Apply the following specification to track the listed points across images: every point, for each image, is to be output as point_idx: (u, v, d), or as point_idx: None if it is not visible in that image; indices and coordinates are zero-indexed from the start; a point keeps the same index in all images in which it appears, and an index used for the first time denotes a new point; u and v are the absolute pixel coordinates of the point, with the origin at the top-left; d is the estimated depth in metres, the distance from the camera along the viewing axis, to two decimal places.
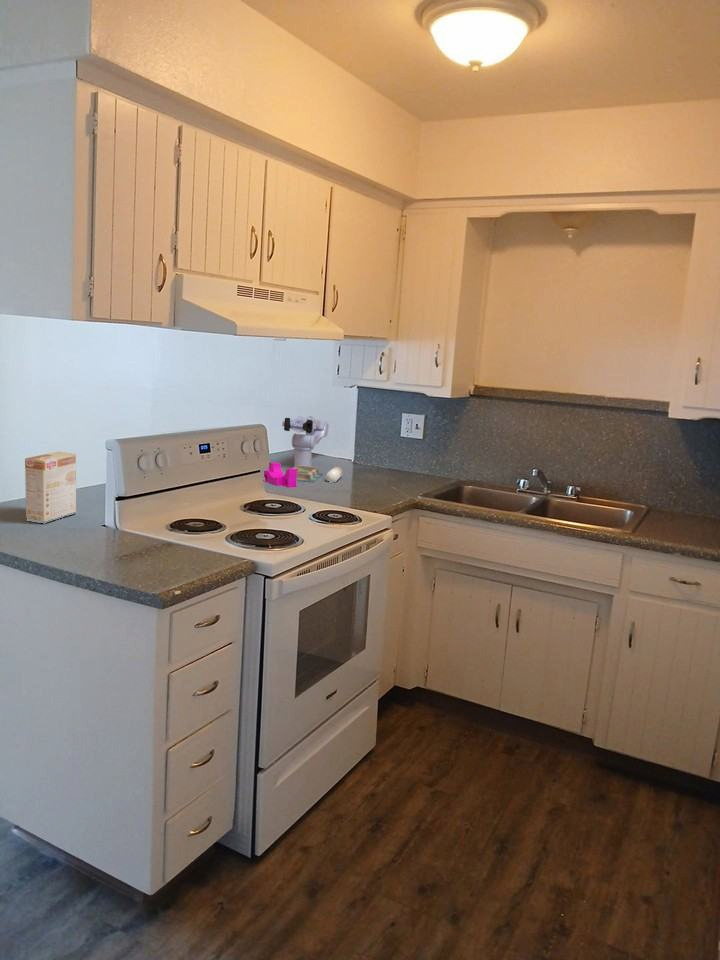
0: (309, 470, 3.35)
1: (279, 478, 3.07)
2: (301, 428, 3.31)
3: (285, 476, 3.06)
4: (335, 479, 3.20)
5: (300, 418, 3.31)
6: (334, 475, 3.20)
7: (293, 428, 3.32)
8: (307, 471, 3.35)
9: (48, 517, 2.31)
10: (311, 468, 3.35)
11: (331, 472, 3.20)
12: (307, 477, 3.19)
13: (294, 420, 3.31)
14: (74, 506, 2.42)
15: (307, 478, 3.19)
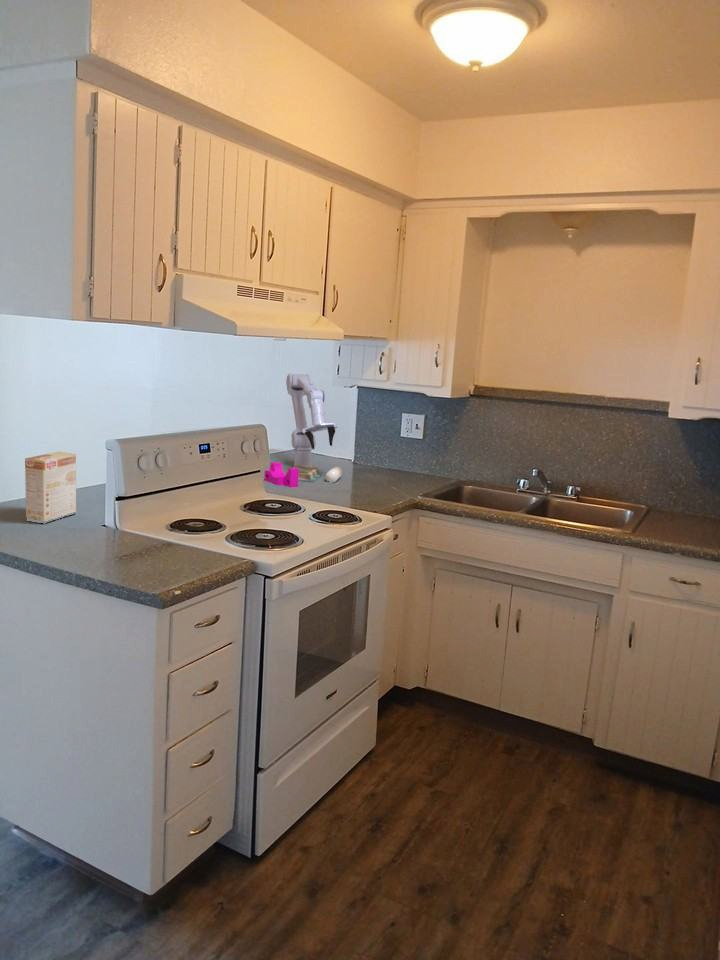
0: (309, 470, 3.35)
1: (281, 478, 3.08)
2: (322, 428, 3.25)
3: (287, 476, 3.07)
4: (335, 479, 3.20)
5: (318, 425, 3.21)
6: (334, 474, 3.20)
7: None
8: (307, 471, 3.35)
9: (48, 517, 2.31)
10: (311, 468, 3.35)
11: (330, 472, 3.20)
12: (307, 477, 3.19)
13: (313, 427, 3.22)
14: (74, 506, 2.42)
15: (307, 478, 3.19)
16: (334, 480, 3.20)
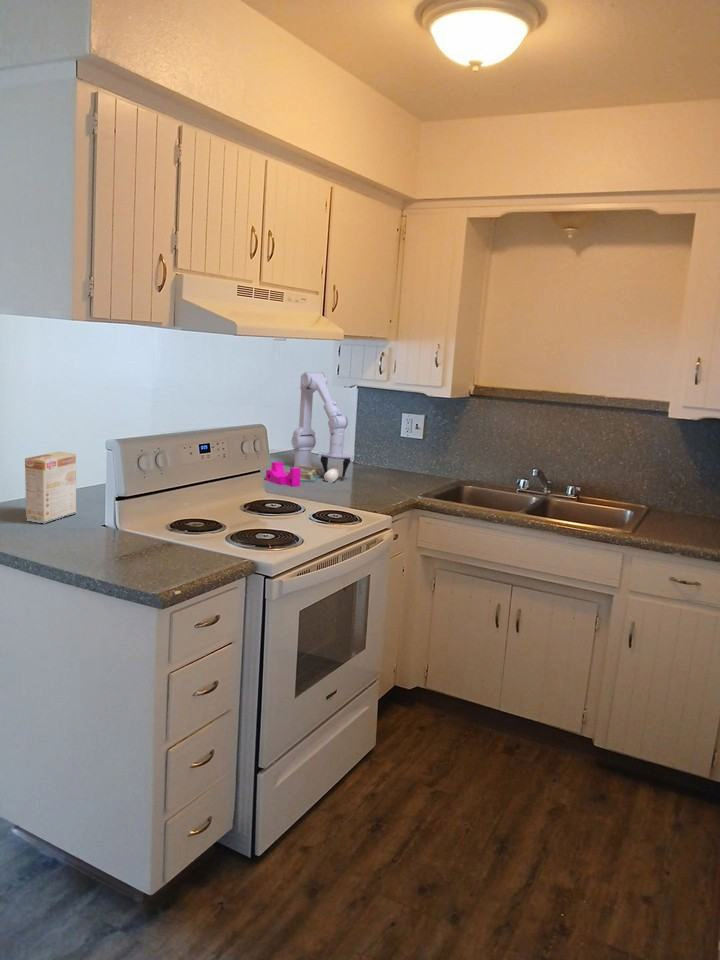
0: (309, 470, 3.35)
1: (283, 477, 3.09)
2: None
3: (289, 475, 3.08)
4: (334, 478, 3.20)
5: (335, 457, 3.22)
6: (332, 474, 3.20)
7: None
8: (307, 471, 3.35)
9: (48, 517, 2.31)
10: (311, 468, 3.35)
11: (328, 472, 3.20)
12: (307, 477, 3.19)
13: (329, 456, 3.23)
14: (74, 506, 2.42)
15: (307, 478, 3.19)
16: (333, 479, 3.20)
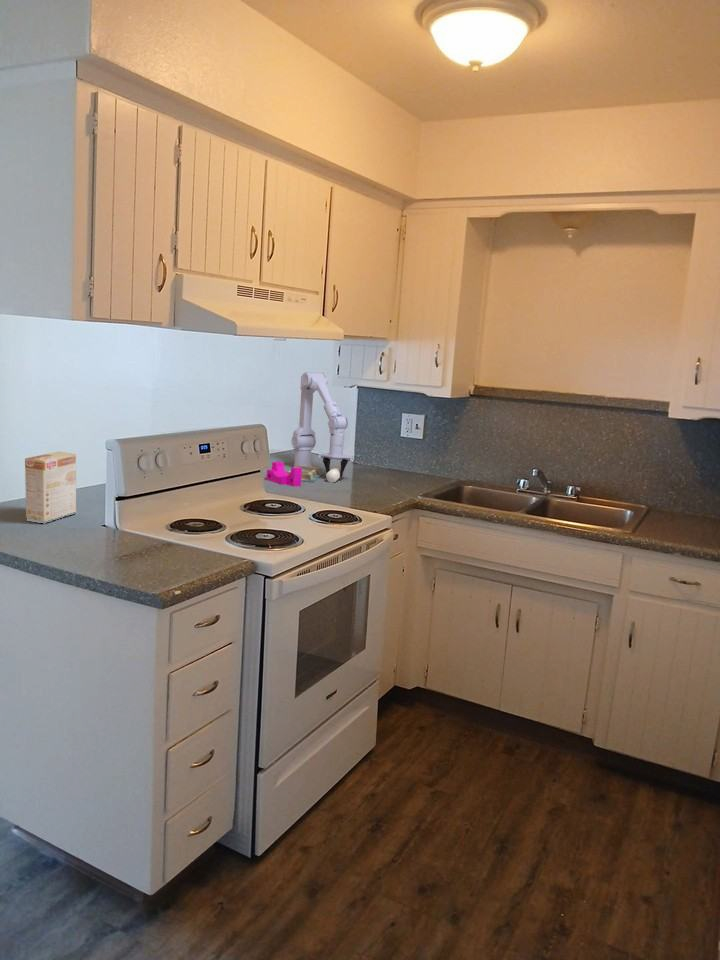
0: (309, 470, 3.35)
1: (284, 477, 3.09)
2: None
3: (290, 475, 3.08)
4: (335, 479, 3.20)
5: (335, 457, 3.22)
6: (334, 474, 3.20)
7: None
8: (307, 471, 3.35)
9: (48, 517, 2.31)
10: (311, 468, 3.35)
11: (331, 472, 3.20)
12: (307, 477, 3.19)
13: (329, 456, 3.23)
14: (74, 506, 2.42)
15: (307, 478, 3.19)
16: (334, 480, 3.20)
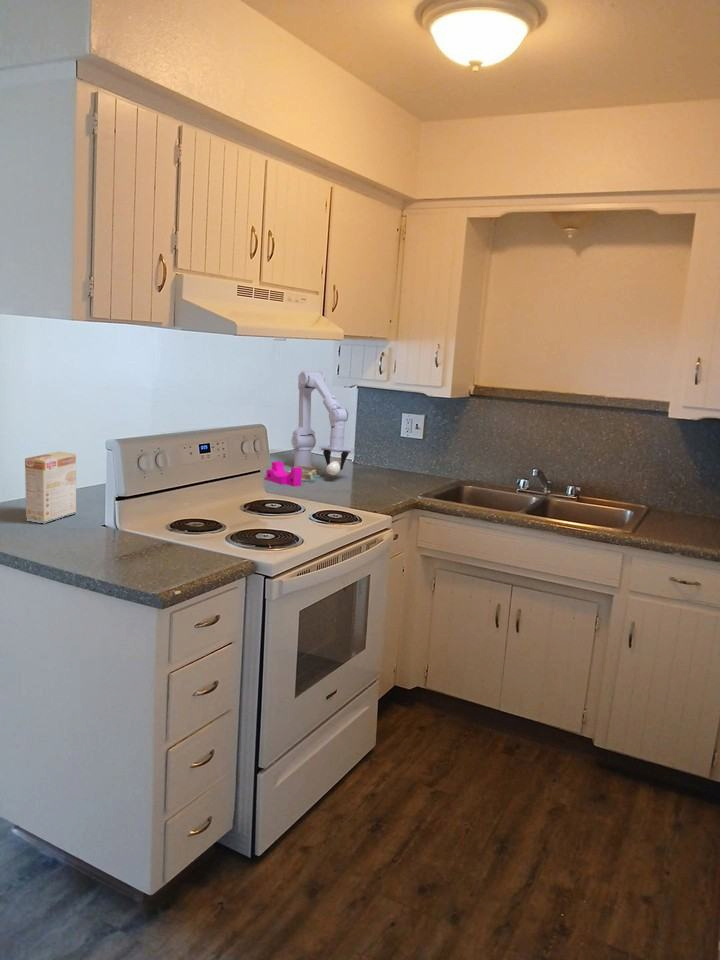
0: (309, 470, 3.35)
1: (284, 477, 3.10)
2: None
3: (290, 475, 3.09)
4: (335, 471, 3.20)
5: (335, 450, 3.21)
6: (335, 467, 3.19)
7: None
8: (307, 471, 3.35)
9: (48, 517, 2.31)
10: (311, 468, 3.35)
11: (331, 464, 3.19)
12: (307, 477, 3.19)
13: (330, 449, 3.22)
14: (74, 506, 2.42)
15: (307, 478, 3.19)
16: (335, 472, 3.20)
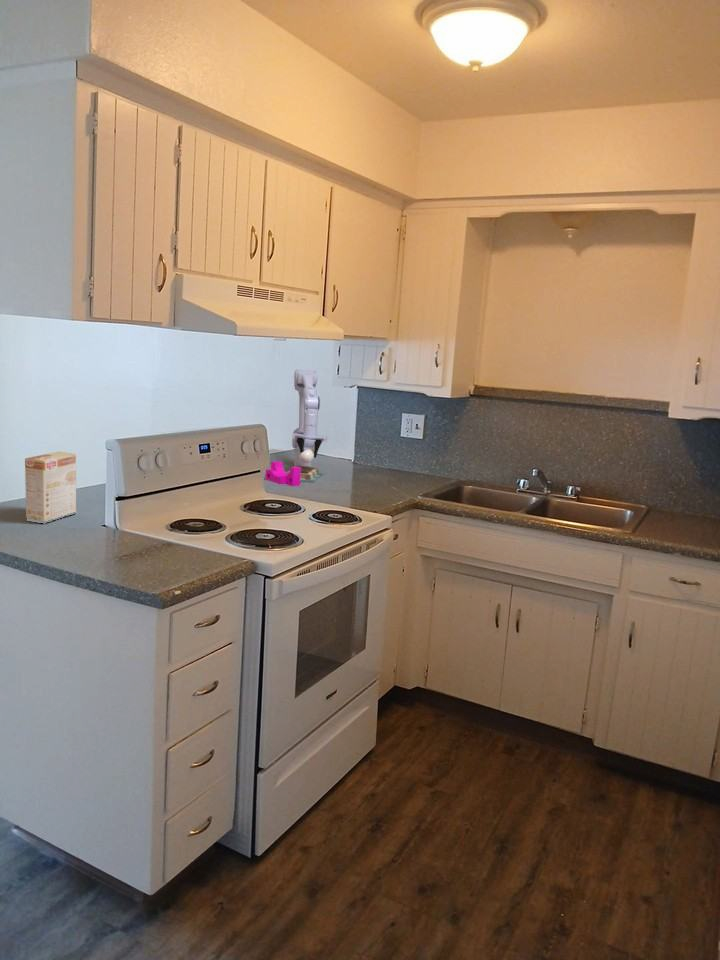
0: (309, 470, 3.35)
1: (283, 477, 3.10)
2: None
3: (289, 475, 3.09)
4: (309, 459, 3.20)
5: (309, 437, 3.22)
6: (308, 455, 3.20)
7: None
8: (307, 471, 3.35)
9: (48, 517, 2.31)
10: (311, 468, 3.35)
11: (304, 452, 3.20)
12: (307, 477, 3.19)
13: (303, 437, 3.23)
14: (74, 506, 2.42)
15: (307, 478, 3.19)
16: (308, 460, 3.21)
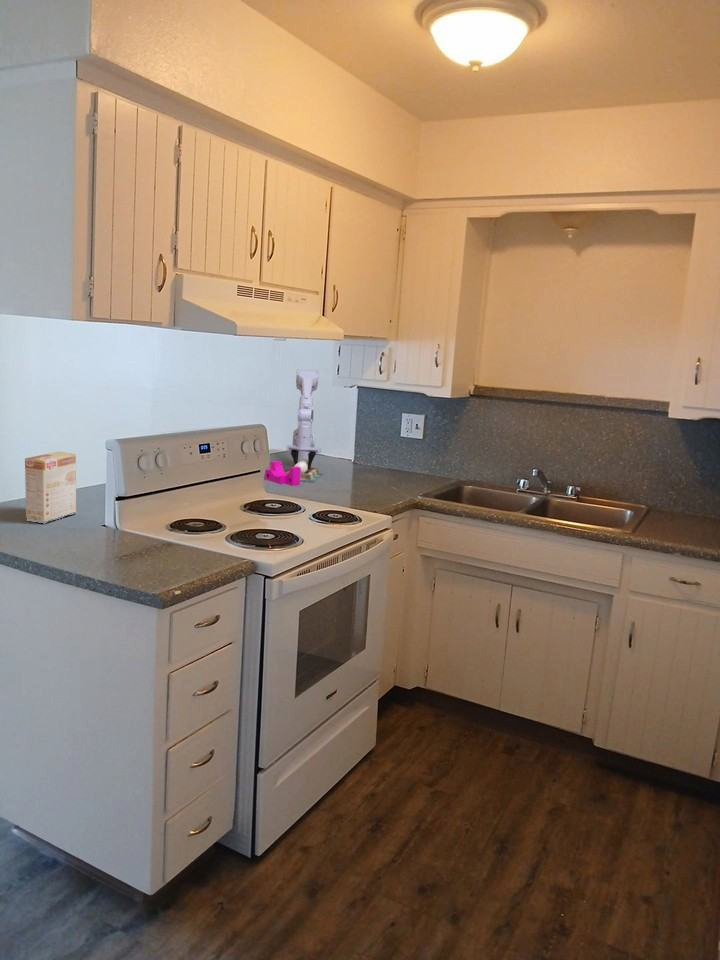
0: (309, 470, 3.35)
1: (283, 477, 3.10)
2: None
3: (289, 475, 3.09)
4: (303, 471, 3.22)
5: (302, 449, 3.23)
6: (301, 467, 3.21)
7: None
8: (307, 471, 3.35)
9: (48, 517, 2.31)
10: (311, 468, 3.35)
11: (298, 464, 3.21)
12: (307, 477, 3.19)
13: (297, 448, 3.25)
14: (74, 506, 2.42)
15: (307, 478, 3.19)
16: (302, 472, 3.22)
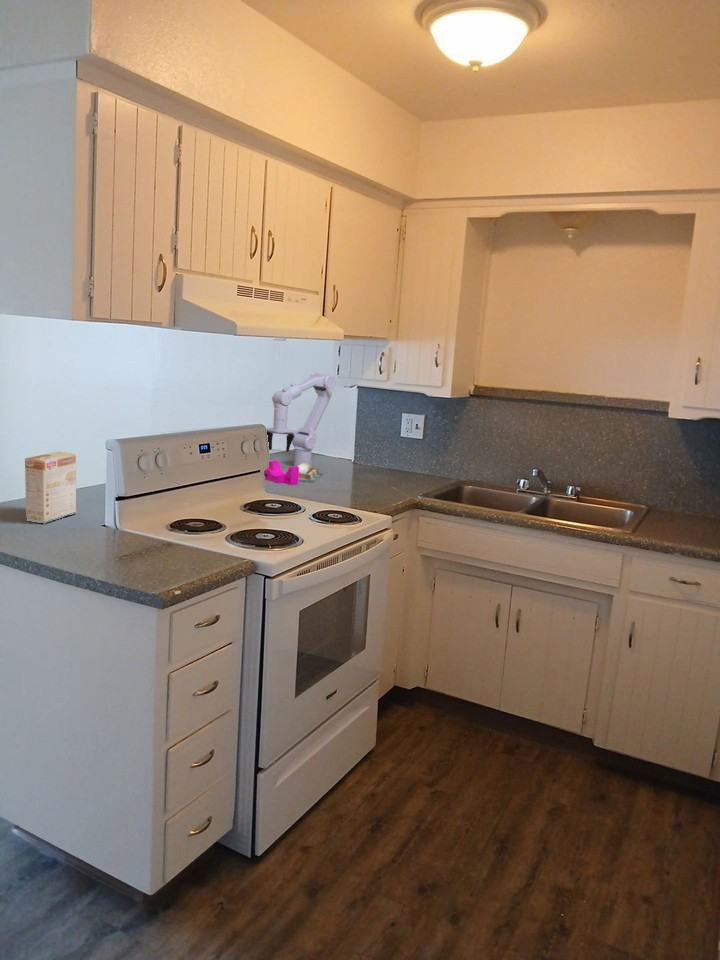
0: None
1: (281, 476, 3.11)
2: None
3: (287, 474, 3.10)
4: None
5: (278, 432, 3.29)
6: (301, 470, 3.22)
7: None
8: None
9: (48, 517, 2.31)
10: (311, 468, 3.35)
11: None
12: (307, 477, 3.19)
13: (273, 431, 3.30)
14: (74, 506, 2.42)
15: (307, 478, 3.19)
16: None
